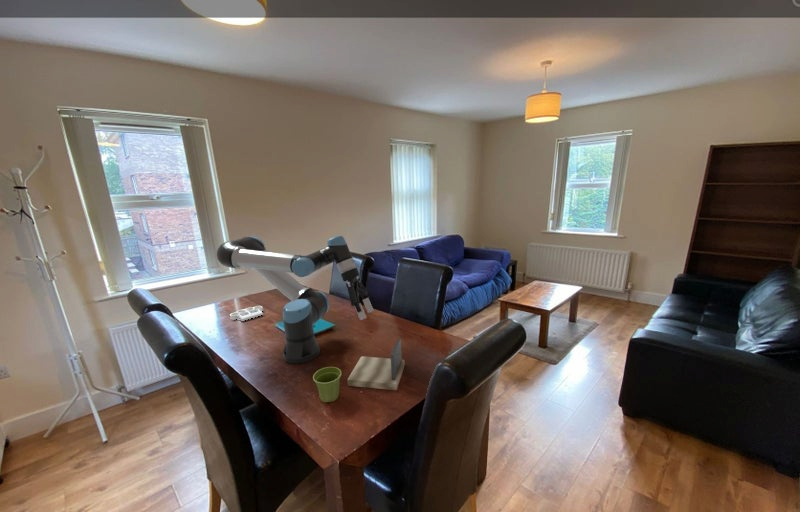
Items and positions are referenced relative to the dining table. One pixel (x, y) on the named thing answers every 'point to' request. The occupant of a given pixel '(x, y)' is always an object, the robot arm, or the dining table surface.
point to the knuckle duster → (247, 313)
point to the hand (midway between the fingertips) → (367, 315)
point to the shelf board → (375, 373)
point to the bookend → (396, 359)
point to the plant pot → (328, 383)
